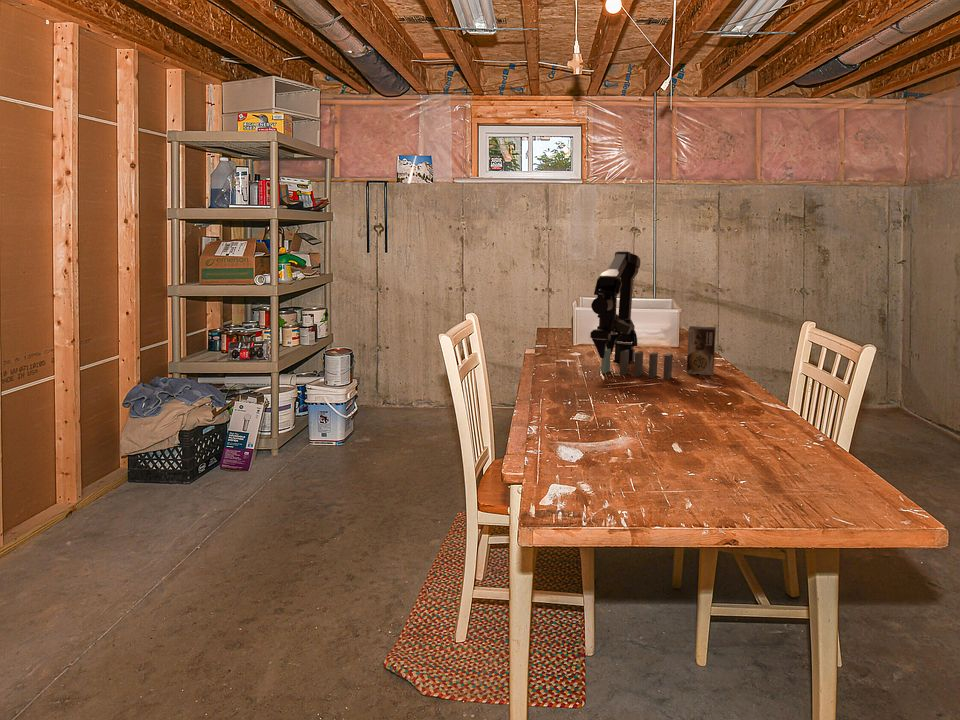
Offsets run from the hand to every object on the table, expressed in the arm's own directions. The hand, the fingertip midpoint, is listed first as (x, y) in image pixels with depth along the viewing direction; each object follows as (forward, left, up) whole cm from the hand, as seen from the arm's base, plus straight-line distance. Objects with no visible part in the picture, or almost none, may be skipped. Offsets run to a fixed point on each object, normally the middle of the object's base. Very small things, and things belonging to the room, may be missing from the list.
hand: (606, 356), depth 269 cm
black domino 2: (+6, 0, -6) cm, 9 cm away
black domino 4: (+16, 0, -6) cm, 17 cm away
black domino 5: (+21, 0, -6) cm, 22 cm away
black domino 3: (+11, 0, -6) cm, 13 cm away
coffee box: (+29, +14, -6) cm, 33 cm away
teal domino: (0, 0, -6) cm, 6 cm away
